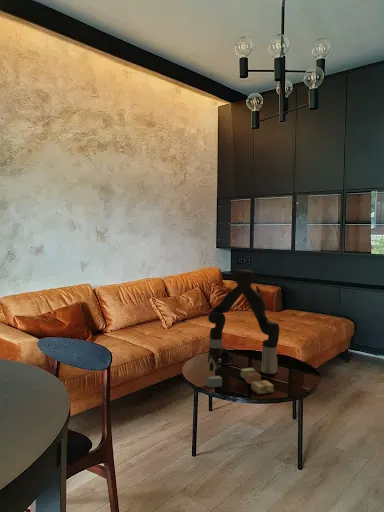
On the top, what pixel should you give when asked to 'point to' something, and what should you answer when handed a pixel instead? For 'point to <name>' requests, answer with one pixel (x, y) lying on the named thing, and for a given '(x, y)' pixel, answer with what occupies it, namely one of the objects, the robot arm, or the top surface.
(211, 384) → the slate brick
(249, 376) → the terracotta brick
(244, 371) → the sage brick
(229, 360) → the crystal cluster
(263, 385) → the birch brick
